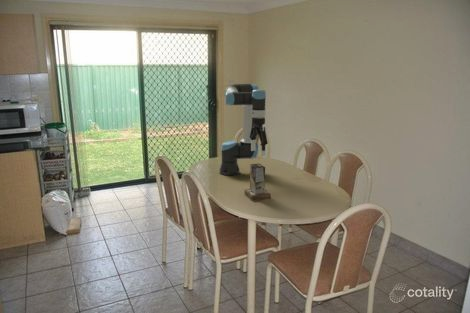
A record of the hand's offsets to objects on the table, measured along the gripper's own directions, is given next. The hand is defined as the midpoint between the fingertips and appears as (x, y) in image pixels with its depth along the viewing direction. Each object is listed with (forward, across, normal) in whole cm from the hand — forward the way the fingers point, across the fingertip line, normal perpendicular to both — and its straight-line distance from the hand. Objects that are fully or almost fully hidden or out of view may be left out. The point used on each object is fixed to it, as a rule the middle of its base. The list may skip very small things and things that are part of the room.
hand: (257, 153), depth 208 cm
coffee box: (+24, 0, 0) cm, 24 cm away
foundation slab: (+27, 0, 0) cm, 27 cm away
